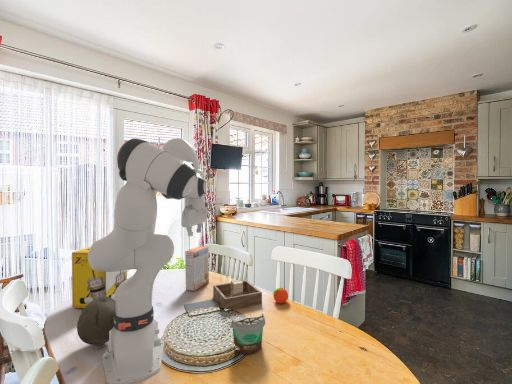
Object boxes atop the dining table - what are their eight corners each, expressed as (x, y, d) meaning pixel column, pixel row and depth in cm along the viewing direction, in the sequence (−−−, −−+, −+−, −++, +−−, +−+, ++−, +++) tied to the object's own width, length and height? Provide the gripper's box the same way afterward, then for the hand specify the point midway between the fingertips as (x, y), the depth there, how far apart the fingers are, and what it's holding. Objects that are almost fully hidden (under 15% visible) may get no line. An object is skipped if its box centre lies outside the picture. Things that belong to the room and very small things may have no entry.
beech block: (242, 301, 126) (242, 282, 126) (234, 302, 125) (234, 283, 124) (239, 297, 131) (239, 279, 130) (230, 299, 129) (230, 280, 129)
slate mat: (221, 310, 117) (221, 309, 117) (189, 316, 111) (189, 315, 111) (213, 299, 128) (213, 299, 128) (184, 305, 122) (184, 304, 122)
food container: (236, 360, 83) (236, 328, 83) (230, 349, 88) (230, 319, 88) (271, 351, 88) (271, 320, 88) (263, 341, 93) (263, 312, 93)
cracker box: (200, 281, 153) (200, 245, 153) (209, 283, 151) (209, 246, 150) (184, 290, 140) (184, 250, 140) (194, 291, 138) (194, 251, 138)
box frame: (261, 304, 123) (261, 292, 123) (224, 311, 116) (224, 299, 116) (246, 290, 140) (246, 280, 139) (213, 296, 132) (213, 285, 132)
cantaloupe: (83, 289, 94) (61, 335, 89) (100, 298, 86) (77, 350, 80) (119, 296, 104) (101, 337, 99) (138, 304, 96) (120, 350, 90)
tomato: (275, 307, 120) (275, 291, 120) (268, 301, 126) (268, 286, 126) (291, 304, 123) (291, 289, 123) (283, 298, 129) (283, 284, 129)
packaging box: (106, 308, 119) (106, 253, 118) (72, 307, 120) (71, 252, 120) (126, 294, 135) (126, 245, 134) (96, 293, 136) (96, 244, 136)
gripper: (191, 206, 111) (191, 238, 112) (208, 203, 131) (209, 230, 132) (177, 205, 112) (177, 238, 113) (197, 202, 132) (197, 230, 133)
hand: (194, 234), depth 122 cm, fingers open, 8 cm apart
